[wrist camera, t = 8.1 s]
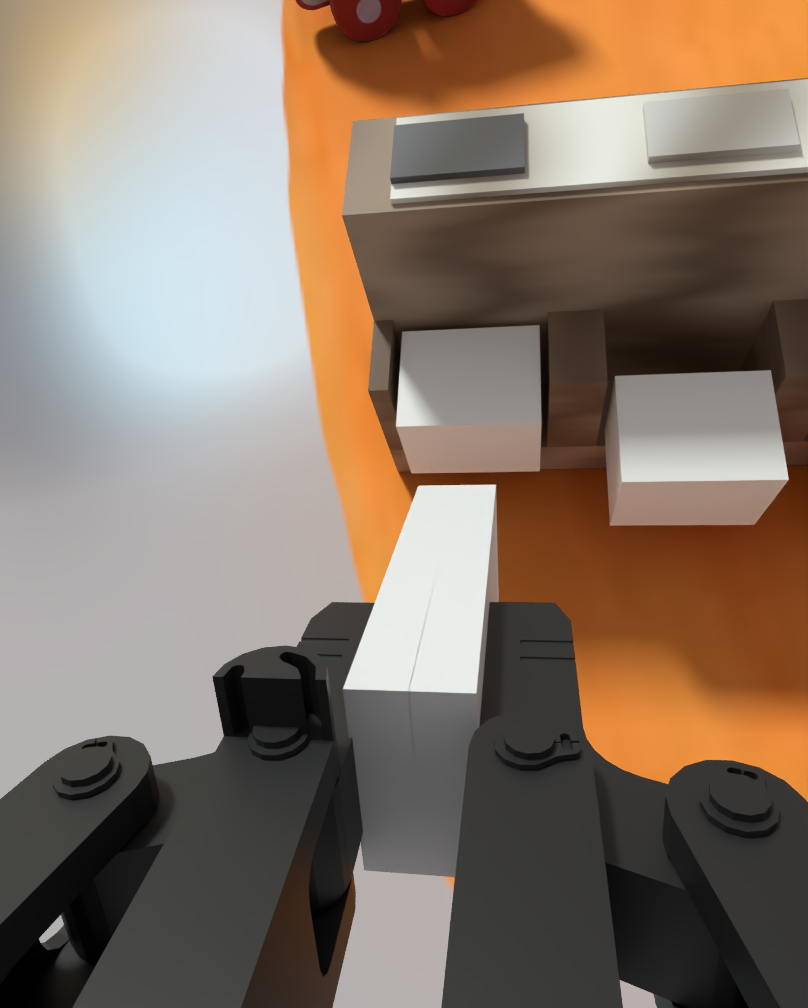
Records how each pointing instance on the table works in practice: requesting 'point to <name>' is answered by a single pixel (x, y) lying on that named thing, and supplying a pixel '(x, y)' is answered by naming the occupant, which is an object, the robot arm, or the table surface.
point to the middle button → (693, 448)
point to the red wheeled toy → (377, 14)
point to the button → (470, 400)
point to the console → (594, 244)
